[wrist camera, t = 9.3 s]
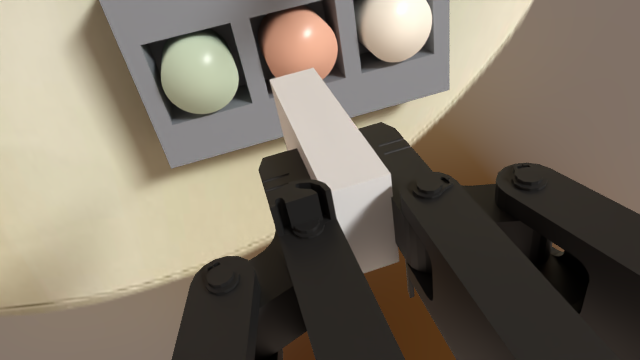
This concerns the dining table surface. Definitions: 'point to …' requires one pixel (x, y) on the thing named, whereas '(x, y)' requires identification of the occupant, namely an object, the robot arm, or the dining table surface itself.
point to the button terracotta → (297, 42)
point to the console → (263, 68)
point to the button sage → (198, 72)
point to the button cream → (392, 27)
